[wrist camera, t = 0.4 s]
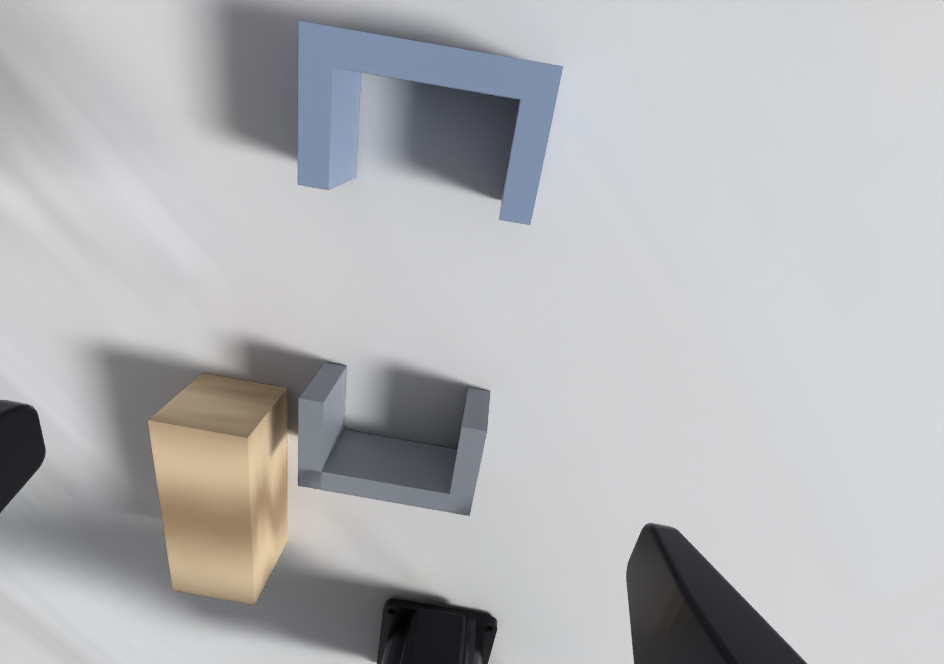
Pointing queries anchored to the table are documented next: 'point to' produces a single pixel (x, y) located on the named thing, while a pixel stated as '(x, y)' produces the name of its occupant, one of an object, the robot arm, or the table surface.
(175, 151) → the table surface
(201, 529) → the slat
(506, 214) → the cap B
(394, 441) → the grey u channel
